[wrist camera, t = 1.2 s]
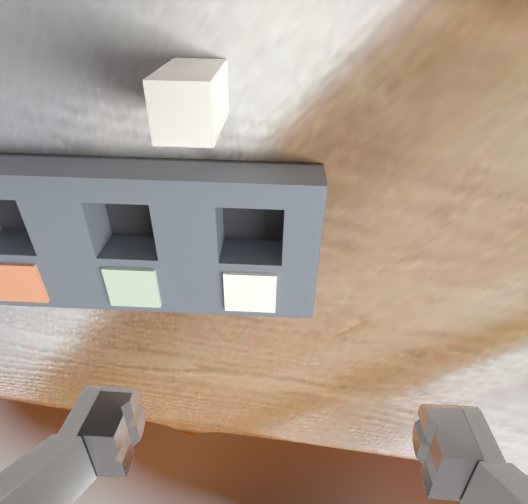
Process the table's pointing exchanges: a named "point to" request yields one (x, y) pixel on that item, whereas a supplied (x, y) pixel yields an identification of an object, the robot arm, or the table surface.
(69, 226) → the socket block
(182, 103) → the plug
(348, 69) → the table surface
